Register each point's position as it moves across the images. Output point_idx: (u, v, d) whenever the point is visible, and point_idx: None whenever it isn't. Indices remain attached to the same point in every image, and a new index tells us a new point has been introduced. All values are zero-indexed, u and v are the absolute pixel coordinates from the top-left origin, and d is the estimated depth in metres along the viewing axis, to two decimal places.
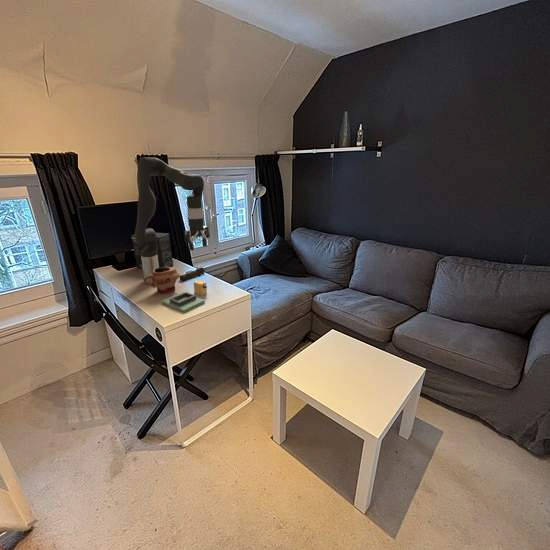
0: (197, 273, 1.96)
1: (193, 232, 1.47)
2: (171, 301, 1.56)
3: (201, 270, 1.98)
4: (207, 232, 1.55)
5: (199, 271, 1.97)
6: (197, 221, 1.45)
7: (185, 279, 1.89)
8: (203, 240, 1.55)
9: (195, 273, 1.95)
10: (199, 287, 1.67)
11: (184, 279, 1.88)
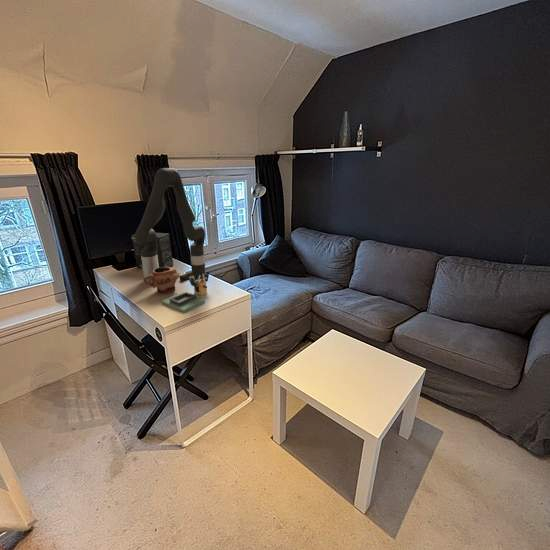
0: None
1: (196, 277, 1.65)
2: (171, 301, 1.56)
3: None
4: (207, 276, 1.71)
5: None
6: (199, 267, 1.62)
7: (185, 279, 1.89)
8: None
9: None
10: (199, 287, 1.67)
11: (184, 279, 1.88)
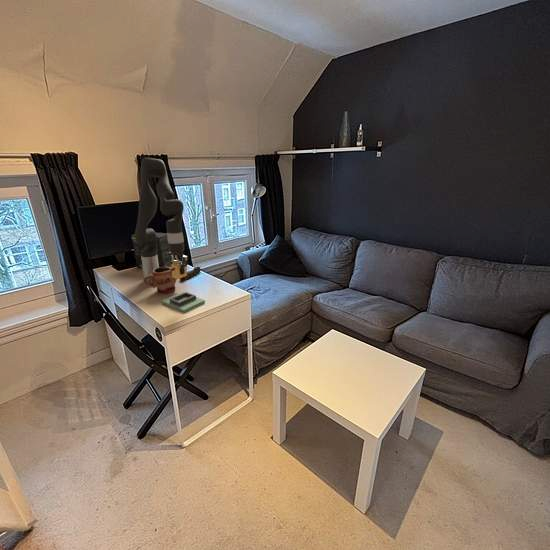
0: (195, 272, 1.97)
1: (171, 255, 1.51)
2: (171, 301, 1.56)
3: (198, 269, 2.00)
4: (182, 262, 1.47)
5: (197, 270, 1.98)
6: (168, 245, 1.46)
7: (185, 279, 1.89)
8: None
9: (193, 272, 1.96)
10: None
11: (185, 279, 1.88)
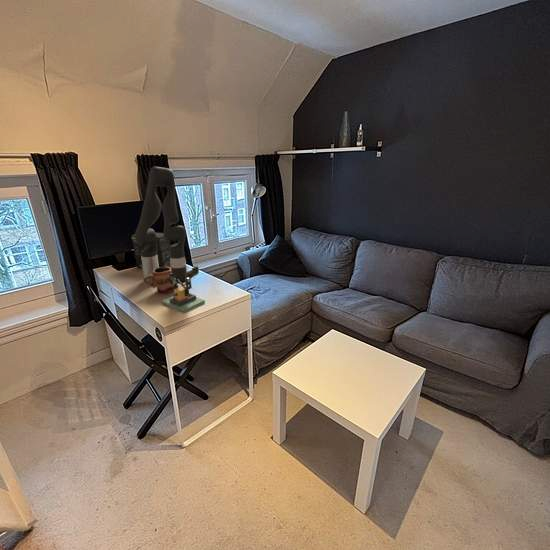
0: (194, 272, 1.98)
1: (174, 277, 1.55)
2: (171, 301, 1.56)
3: (197, 269, 2.01)
4: (186, 284, 1.51)
5: (195, 270, 1.99)
6: (171, 269, 1.51)
7: None
8: None
9: (193, 272, 1.96)
10: None
11: None
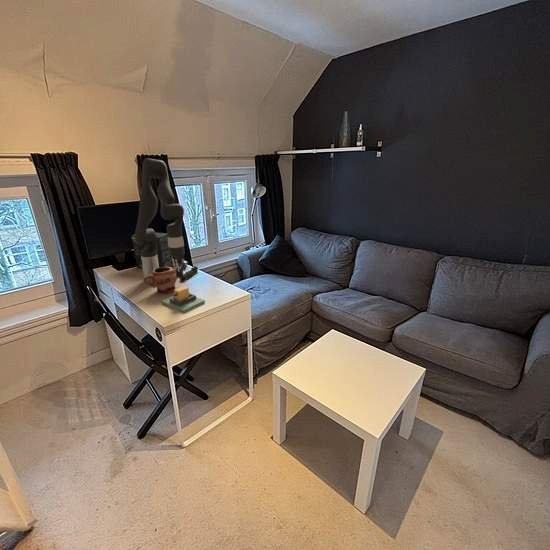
0: (193, 272, 1.98)
1: None
2: (171, 301, 1.56)
3: (196, 269, 2.01)
4: (181, 266, 1.48)
5: (195, 270, 1.99)
6: None
7: None
8: None
9: (192, 272, 1.96)
10: None
11: (185, 279, 1.89)
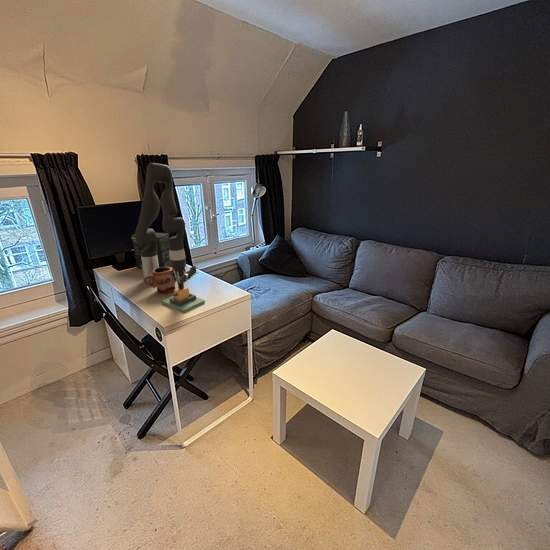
0: (193, 272, 1.98)
1: (174, 272, 1.54)
2: (171, 301, 1.56)
3: (195, 268, 2.01)
4: (182, 278, 1.51)
5: (194, 270, 1.99)
6: (170, 261, 1.49)
7: None
8: None
9: (191, 272, 1.97)
10: None
11: None
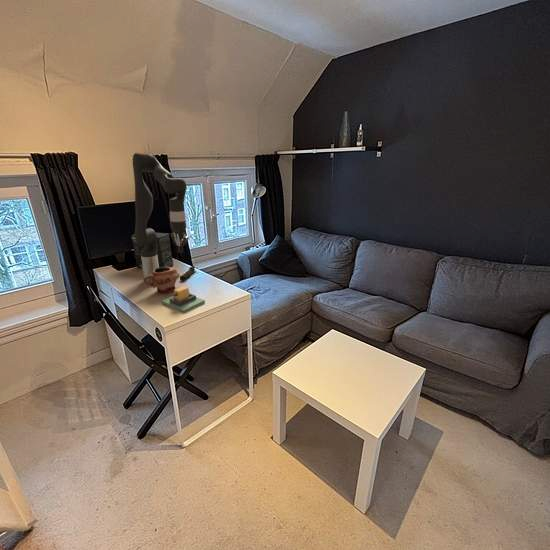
0: (192, 272, 1.98)
1: (174, 235, 1.53)
2: (171, 301, 1.56)
3: (193, 268, 2.01)
4: (182, 241, 1.51)
5: (193, 269, 2.00)
6: None
7: None
8: None
9: (191, 272, 1.97)
10: None
11: (185, 279, 1.89)
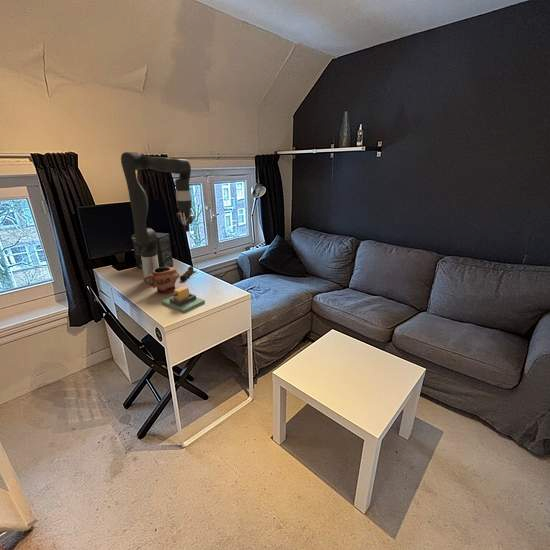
0: (191, 271, 1.98)
1: (180, 214, 1.61)
2: (171, 301, 1.56)
3: (192, 268, 2.01)
4: (188, 219, 1.58)
5: (192, 269, 2.00)
6: None
7: (186, 278, 1.90)
8: None
9: (190, 272, 1.97)
10: None
11: None
